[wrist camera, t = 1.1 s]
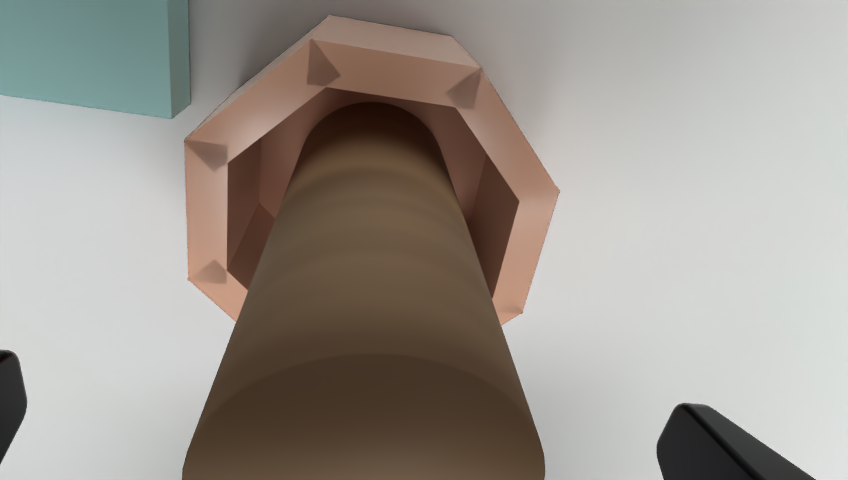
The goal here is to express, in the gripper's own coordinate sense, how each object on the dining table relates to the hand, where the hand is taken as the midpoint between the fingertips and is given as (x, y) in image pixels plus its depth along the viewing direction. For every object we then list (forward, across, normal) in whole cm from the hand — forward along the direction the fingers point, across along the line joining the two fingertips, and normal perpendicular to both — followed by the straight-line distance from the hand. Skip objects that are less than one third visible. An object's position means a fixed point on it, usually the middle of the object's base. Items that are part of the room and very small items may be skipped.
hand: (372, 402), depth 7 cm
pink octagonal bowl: (+9, 0, 0) cm, 9 cm away
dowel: (+8, 0, 0) cm, 9 cm away
